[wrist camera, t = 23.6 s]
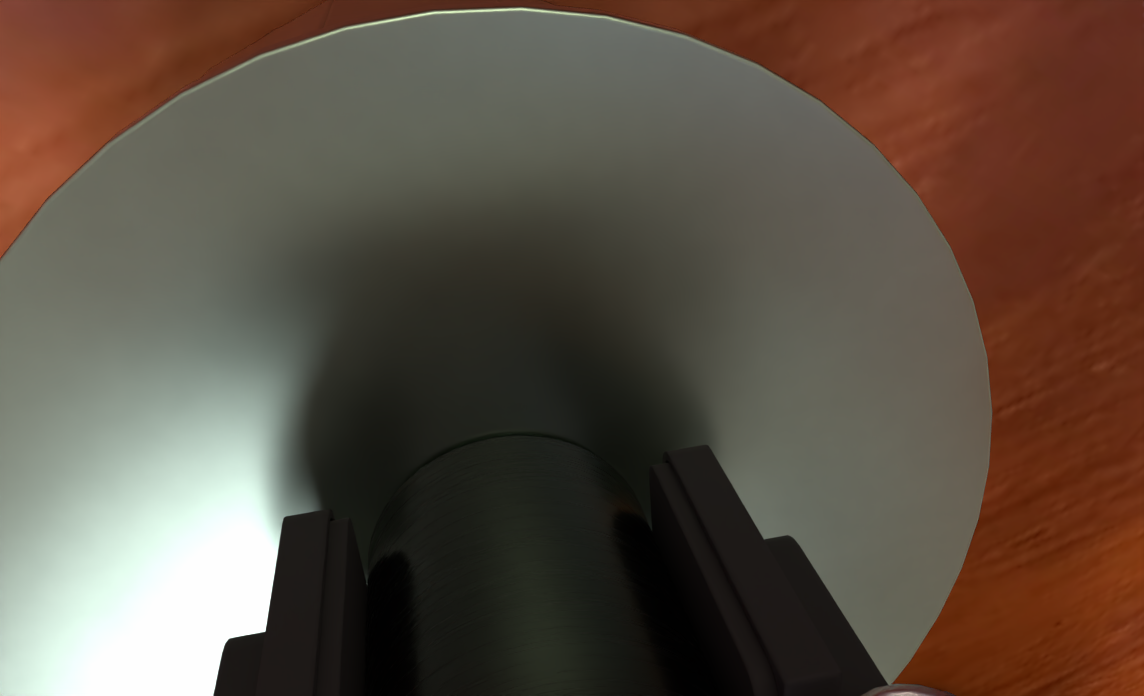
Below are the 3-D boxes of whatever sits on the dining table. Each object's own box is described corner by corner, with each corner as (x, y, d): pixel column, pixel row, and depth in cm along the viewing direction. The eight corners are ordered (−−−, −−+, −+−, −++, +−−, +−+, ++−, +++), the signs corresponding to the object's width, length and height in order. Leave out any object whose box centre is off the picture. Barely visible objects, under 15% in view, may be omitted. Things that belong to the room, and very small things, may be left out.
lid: (139, 916, 16) (-8, 1538, 10) (-242, 70, 10) (-1219, 353, 4) (915, 747, 17) (1192, 1192, 11) (1000, -64, 11) (1678, -14, 5)
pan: (214, 611, 21) (169, 817, 16) (26, 27, 16) (-124, 87, 11) (751, 512, 23) (849, 674, 18) (751, -50, 17) (891, -27, 13)
